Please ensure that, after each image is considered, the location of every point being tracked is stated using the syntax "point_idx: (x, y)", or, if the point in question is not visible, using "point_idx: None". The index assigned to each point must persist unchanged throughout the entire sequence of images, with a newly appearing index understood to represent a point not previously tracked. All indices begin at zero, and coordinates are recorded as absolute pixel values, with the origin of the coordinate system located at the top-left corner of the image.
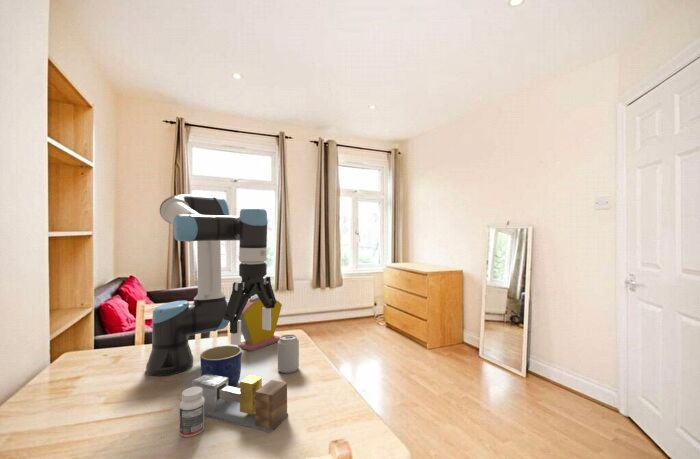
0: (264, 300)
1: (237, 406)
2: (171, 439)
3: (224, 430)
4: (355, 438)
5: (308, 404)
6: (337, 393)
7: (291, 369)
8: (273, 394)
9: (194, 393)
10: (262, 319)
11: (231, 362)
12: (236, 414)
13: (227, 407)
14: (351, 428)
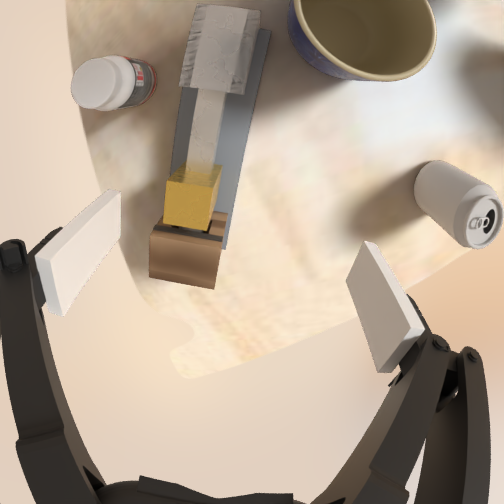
0: (380, 417)
1: (230, 127)
2: None
3: (148, 146)
4: (192, 346)
5: (272, 272)
6: (318, 311)
7: (417, 203)
8: (153, 277)
9: (82, 99)
10: (382, 274)
11: (328, 65)
12: None
13: None
14: (212, 341)
